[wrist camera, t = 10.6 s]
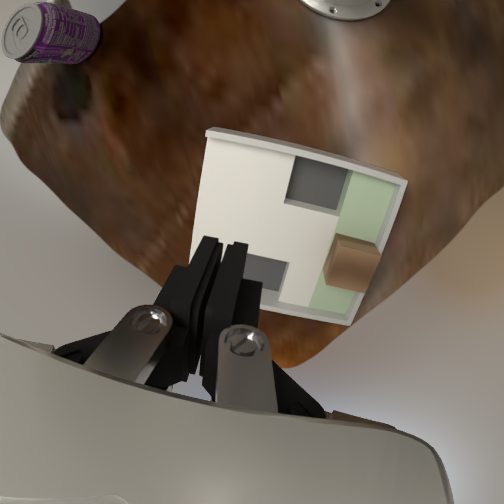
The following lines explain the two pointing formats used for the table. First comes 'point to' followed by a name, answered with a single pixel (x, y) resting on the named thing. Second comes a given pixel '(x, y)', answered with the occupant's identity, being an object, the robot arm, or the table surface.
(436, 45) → the table surface
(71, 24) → the beverage can
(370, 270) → the walnut block
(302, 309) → the box
